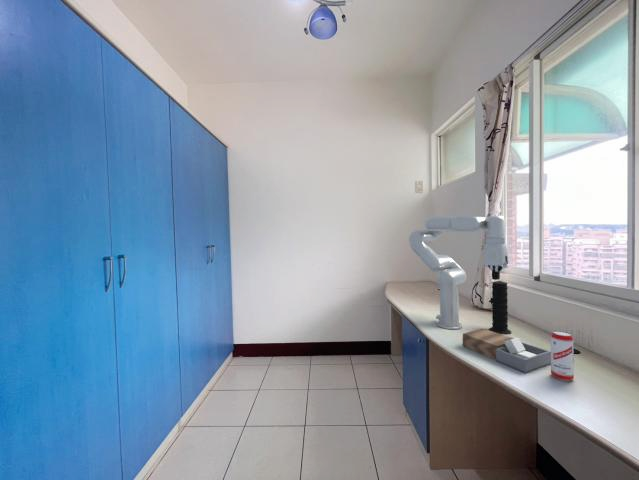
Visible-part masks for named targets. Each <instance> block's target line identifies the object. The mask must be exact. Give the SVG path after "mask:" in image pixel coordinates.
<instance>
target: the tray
mask: <svg viewBox="0 0 639 480" xmlns="http://www.w3.org/2000/svg"><path fill="white" fill-rule="evenodd" d="M521 343H522V344H523V346H524V348H525V349H526V350H524V351H527V352H530V353H533V354H536V355H535V356H533V357H530V358H527V359H523V358H521V357H518V356H516V353H513V354H510V352H509V351H508V349H507V347H506V346H505V347H501V348H498V349H496V360H495V361H496V362H497V363H500V365H501V364H502V365H504V366H506V367H509V368H512V369H514V370H517V371H519V372H522V373H524V374H528V373H531V372H534V371H537V370H539V369H541V368H545V367H547V366H549V365H550V366H551V350H548V349H545V348H541V347H538V346H535V345H532V344H528V343H525V342H522V341H521Z"/></svg>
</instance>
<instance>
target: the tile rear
mask: <svg viewBox="0 0 639 480" xmlns="http://www.w3.org/2000/svg"><path fill="white" fill-rule="evenodd" d="M513 338H514V339H511V340H508V341H505V342H504V343H505V345H506V347H507V349H508V351H509V352H510V354H513V353H517V352H520V351H524V350H526V349H525V348H524V346H523V344H522V343H521V342H522V341H521V340H520V337H513Z"/></svg>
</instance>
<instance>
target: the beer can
mask: <svg viewBox="0 0 639 480" xmlns="http://www.w3.org/2000/svg"><path fill="white" fill-rule="evenodd" d="M574 342H575V339H574V338H573V335H572V333H570V332H567V331H564V330H553V331H552V334H551V335H550V351H551V364H550V373H551V375H552V376H553V377H554V379H557V380H559V381H563V382H571V381H573V380H574V375H575V373H574V371H575V370H574V368H575V367H574V366H575V364H574V363H575V362H574V361H575V359H574V356H575V354H574V353H575V352H574V351H575V349H574V346H575V345H574Z"/></svg>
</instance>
